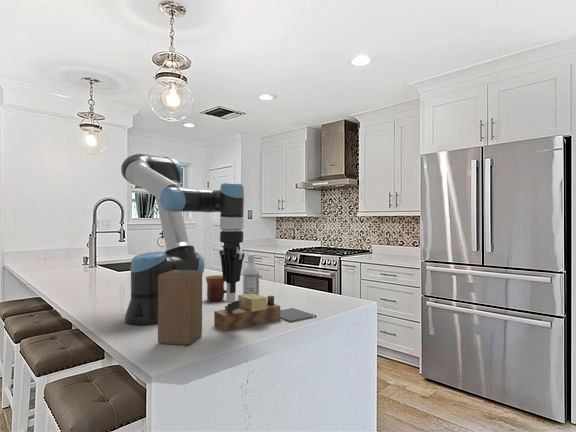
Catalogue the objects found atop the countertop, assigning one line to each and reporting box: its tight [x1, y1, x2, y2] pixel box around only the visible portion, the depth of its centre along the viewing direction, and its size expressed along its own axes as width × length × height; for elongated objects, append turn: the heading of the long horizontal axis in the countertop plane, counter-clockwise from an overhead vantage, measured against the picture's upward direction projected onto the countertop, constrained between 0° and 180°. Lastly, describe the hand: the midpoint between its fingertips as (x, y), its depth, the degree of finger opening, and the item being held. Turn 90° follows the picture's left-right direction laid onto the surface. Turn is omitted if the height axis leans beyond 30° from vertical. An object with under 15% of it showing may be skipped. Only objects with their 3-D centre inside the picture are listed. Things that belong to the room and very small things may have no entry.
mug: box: [205, 274, 227, 303], centre depth 162 cm, size 12×9×10 cm
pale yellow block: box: [237, 293, 267, 312], centre depth 128 cm, size 6×9×4 cm, turn 37°
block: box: [157, 270, 203, 346], centre depth 109 cm, size 10×10×20 cm
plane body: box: [213, 295, 281, 332], centre depth 127 cm, size 22×7×8 cm, turn 127°
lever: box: [224, 299, 242, 312], centre depth 119 cm, size 2×2×9 cm
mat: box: [280, 307, 317, 323], centre depth 137 cm, size 12×14×1 cm
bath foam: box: [242, 253, 260, 295], centre depth 164 cm, size 7×7×20 cm
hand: (230, 302), depth 121 cm, fingers closed
